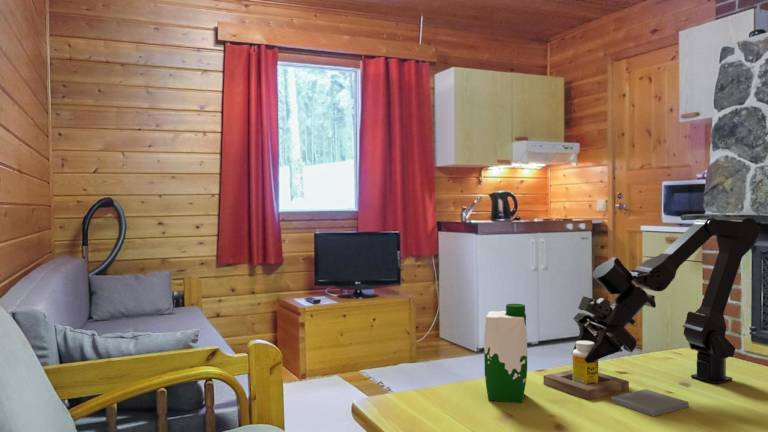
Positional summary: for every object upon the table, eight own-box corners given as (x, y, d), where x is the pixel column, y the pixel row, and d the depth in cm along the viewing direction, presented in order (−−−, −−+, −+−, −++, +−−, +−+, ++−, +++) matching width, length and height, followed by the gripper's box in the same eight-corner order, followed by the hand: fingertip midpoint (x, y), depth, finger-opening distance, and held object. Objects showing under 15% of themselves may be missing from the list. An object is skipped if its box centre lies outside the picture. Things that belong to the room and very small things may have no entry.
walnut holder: (583, 375, 143) (583, 367, 143) (628, 390, 131) (628, 381, 131) (543, 384, 136) (543, 375, 136) (588, 399, 125) (588, 390, 125)
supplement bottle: (587, 392, 130) (587, 346, 130) (567, 386, 135) (567, 341, 135) (603, 387, 133) (603, 342, 133) (583, 382, 138) (582, 338, 138)
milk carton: (526, 405, 122) (526, 308, 122) (482, 401, 125) (482, 307, 124) (528, 392, 131) (527, 302, 130) (486, 389, 133) (486, 301, 133)
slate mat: (645, 393, 129) (645, 388, 129) (688, 406, 120) (688, 401, 120) (611, 402, 123) (611, 397, 123) (653, 416, 115) (653, 411, 115)
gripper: (580, 279, 143) (538, 326, 142) (624, 289, 125) (575, 343, 123) (610, 310, 145) (569, 357, 143) (657, 325, 126) (610, 379, 125)
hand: (579, 358), depth 134 cm, fingers closed on supplement bottle, 5 cm apart
